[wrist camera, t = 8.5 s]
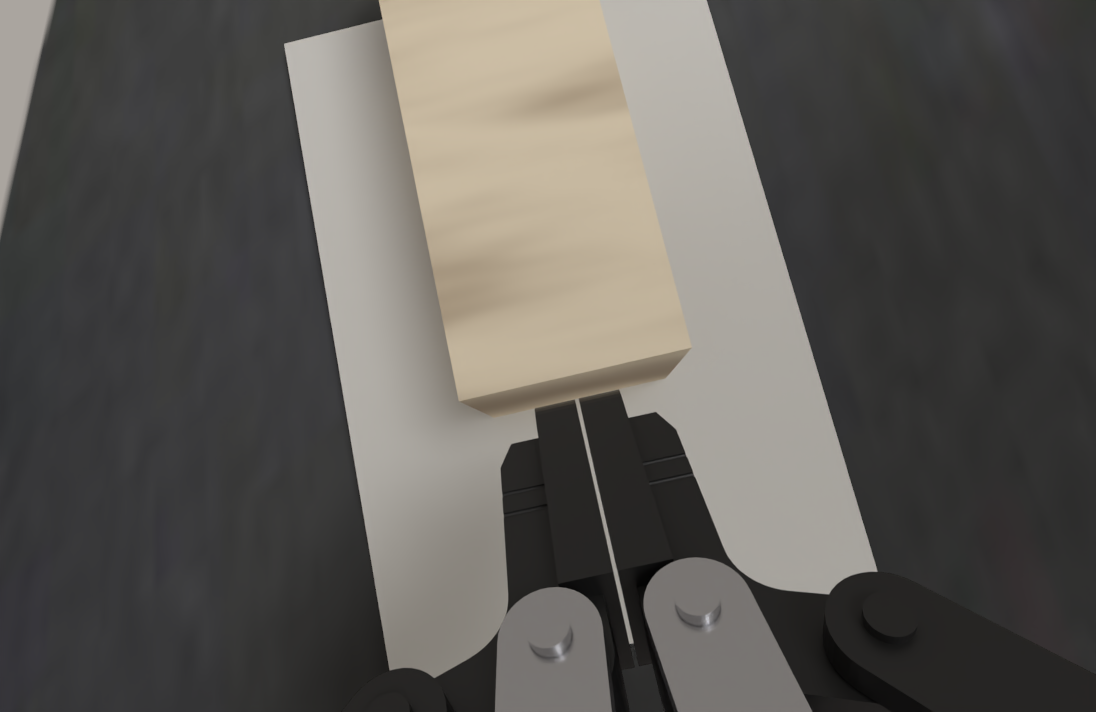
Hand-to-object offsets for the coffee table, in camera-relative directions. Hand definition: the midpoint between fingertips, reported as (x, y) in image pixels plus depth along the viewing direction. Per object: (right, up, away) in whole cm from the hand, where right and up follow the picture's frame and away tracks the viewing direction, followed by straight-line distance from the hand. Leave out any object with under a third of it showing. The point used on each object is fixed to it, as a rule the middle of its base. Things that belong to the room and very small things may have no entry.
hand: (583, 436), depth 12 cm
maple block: (0, 0, +8) cm, 8 cm away
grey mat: (0, +4, +12) cm, 13 cm away
